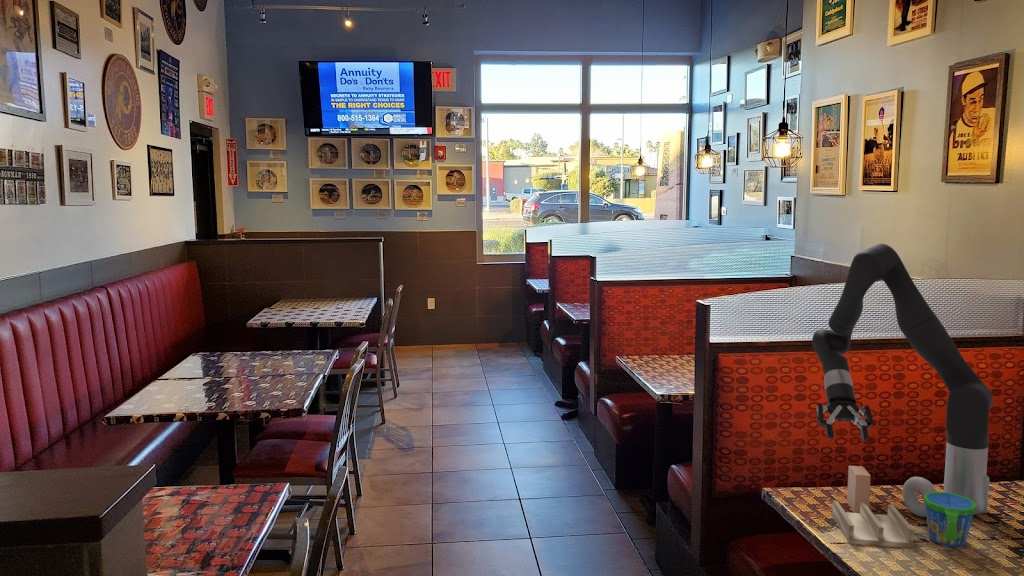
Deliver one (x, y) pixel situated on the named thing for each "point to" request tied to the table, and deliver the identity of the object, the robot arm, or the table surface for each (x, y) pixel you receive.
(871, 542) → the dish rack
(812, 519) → the table surface
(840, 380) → the robot arm
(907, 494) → the grey ring
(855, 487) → the pink rectangular block
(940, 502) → the snack cup
